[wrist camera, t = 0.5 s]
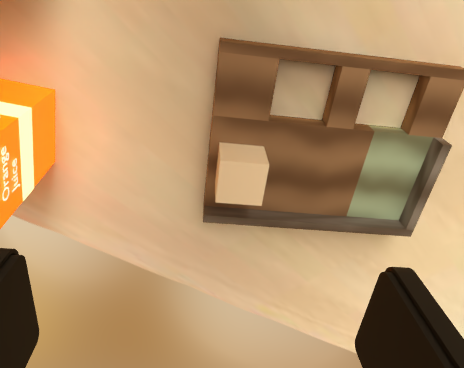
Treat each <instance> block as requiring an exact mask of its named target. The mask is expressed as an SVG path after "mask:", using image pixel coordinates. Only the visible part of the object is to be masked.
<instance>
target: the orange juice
mask: <svg viewBox="0 0 464 368" xmlns="http://www.w3.org/2000/svg"><path fill="white" fill-rule="evenodd" d="M54 162H55V90H54V89H49V88H44V87H39V86H35V85H30V84H25V83H20V82H15V81H10V80H5V79H0V229H1V227H2V226H3V225H4V224H5V222H6V221H7V220H8V219H9V217H10V216H11V215H12V214H13V213H14V211H15V210H16V209H17V208H18V207H19V205H20V204H21V203H22V202H23V201H24V200H25V199H26V198H27V196H28V195H29V194H30V193H31V191H32V190H33V189H34V187H35V186H36V184H37V183H38V182H39V181H40V180H41V178H42V177H43V176H44V175H45V173H46V172H47V171H48V170H49V169H50V167H51V166H52V165H53V164H54Z"/></svg>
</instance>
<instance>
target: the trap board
mask: <svg viewBox="0 0 464 368" xmlns="http://www.w3.org/2000/svg"><path fill="white" fill-rule="evenodd" d="M279 59H284V60H293V61H302V62H310V63H319V64H327V65H336V67H335V71H334V75H333V79H332V83H331V87H330V91H329V95H328V99H327V103H326V107H325V111H324V115H323V119H322V120H314V119H304V118H294V117H284V116H274V115H270V110H271V104H272V99H273V93H274V88H275V82H276V76H277V71H278V65H279ZM371 70H379V71H387V72H396V73H405V74H413V75H420V77H419V80H418V83H417V86H416V88H415V91H414V94H413V96H412V99H411V102H410V104H409V107H408V110H407V113H406V115H405V118H404V121H403V123H402V126H401V128H393V127H383V126H373V125H363V124H355V121H356V118H357V115H358V111H359V108H360V105H361V101H362V98H363V95H364V91H365V88H366V85H367V81H368V78H369V75H370V72H371ZM463 89H464V68H462V67H458V66H450V65H442V64H433V63H425V62H417V61H409V60H400V59H392V58H384V57H375V56H367V55H359V54H350V53H342V52H334V51H326V50H317V49H309V48H301V47H292V46H284V45H276V44H267V43H259V42H251V41H243V40H234V39H226V38H220V42H219V52H218V63H217V73H216V83H215V93H214V103H213V114H212V124H211V134H210V144H209V154H208V165H207V175H206V185H205V195H204V209H203V222H207V223H222V224H236V225H251V226H265V227H279V228H294V229H308V230H323V231H337V232H352V233H366V234H381V235H395V236H410V237H411V235H412V232H413V230H414V228H415V226H416V224H417V221H418V219H419V217H420V215H421V212H422V210H423V208H424V206H425V204H426V201H427V199H428V197H429V195H430V193H431V190H432V188H433V186H434V184H435V182H436V179H437V177H438V175H439V173H440V171H441V168H442V166H443V164H444V162H445V160H446V157H447V155H448V153H449V151H450V149H451V146H452V145H451V144H449V143H448V142H447V141H445V140H444V139H442V137H443V135H444V132H445V130H446V128H447V125H448V123H449V121H450V118H451V116H452V114H453V112H454V109H455V107H456V105H457V102H458V100H459V98H460V95H461V93H462V91H463ZM219 142H221V143H232V144H243V145H254V146H264V148H265V151H266V155H267V158H268V162H269V170H268V175H267V180H266V186H265V191H264V196H263V201H262V206H256V205H242V204H229V203H216V202H215V178H216V169H217V160H218V151H219Z"/></svg>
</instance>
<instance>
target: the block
mask: <svg viewBox="0 0 464 368" xmlns="http://www.w3.org/2000/svg"><path fill="white" fill-rule="evenodd" d="M268 170H269V162H268V158H267V155H266V151H265V148H264V146H254V145H243V144H232V143H221V142H219V151H218V160H217V169H216V178H215V202H216V203H229V204H242V205H256V206H262V201H263V196H264V191H265V186H266V180H267V175H268Z"/></svg>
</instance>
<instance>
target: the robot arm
mask: <svg viewBox="0 0 464 368" xmlns="http://www.w3.org/2000/svg"><path fill="white" fill-rule="evenodd" d="M38 337H39V327H38V321H37V316H36V311H35V306H34V301H33V296H32V290H31V285H30V280H29V275H28V270H27V264H26V260H25V257H24V256H23V255H19V254H18V251H17V250H16V249H5V248H0V368H25V367H26V365H27V363H28V361H29V359H30V357H31V355H32V352H33V350H34V348H35V346H36V344H37V341H38ZM355 348H356V352H357V355H358V357H359V360H360V362H361V365H362V367H363V368H464V339H463V338H462V336H461V335H460V333H459V332H458V331H457V329H456V328H455V327H454V325H453V324H452V322H451V321H450V320H449V318H448V317H447V316H446V314H445V313H444V311H443V310H442V309H441V307H440V306H439V305H438V303H437V302H436V300H435V299H434V298H433V296H432V295H431V294H430V292H429V291H428V289H427V288H426V287H425V285H424V284H423V282H422V281H421V280H420V278H419V277H418V276H417V274H416V273H415V272H414V271H413V270H412V269H411V268H402V267H388V268H387V269H386V271H385V272H382V273H380V275H379V277H378V280H377V283H376V285H375V288H374V291H373V293H372V296H371V299H370V301H369V304H368V307H367V309H366V312H365V315H364V317H363V320H362V322H361V325H360V328H359V330H358V333H357V336H356V339H355Z"/></svg>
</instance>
